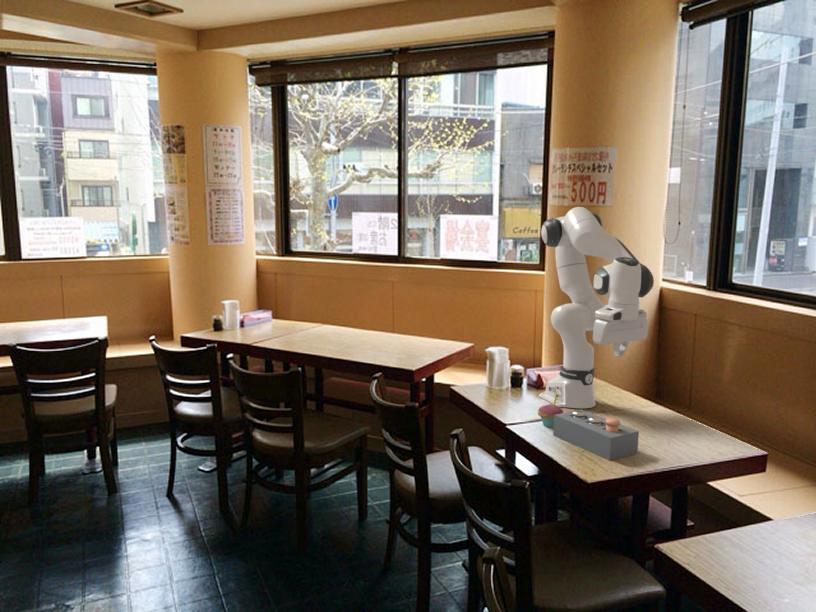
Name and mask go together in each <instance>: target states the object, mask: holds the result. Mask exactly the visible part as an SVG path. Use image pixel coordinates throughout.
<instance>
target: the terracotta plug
mask: <svg viewBox="0 0 816 612" xmlns="http://www.w3.org/2000/svg"><path fill="white" fill-rule="evenodd" d="M605 419H606V421H605V423H606V430H607V431H609V432H612V433H614V432H618V428H619V425H620V424H621V422H620V420H619V419H617V418H605Z"/></svg>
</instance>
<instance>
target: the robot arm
mask: <svg viewBox="0 0 816 612" xmlns="http://www.w3.org/2000/svg"><path fill="white" fill-rule="evenodd" d="M540 231H541V232H540V233H541V239H542V242H544V244H545V246H547V247H550V248H555V249H554V251H555V252H554V253H555V265H556V273H557V278H558V282H559V287H560V290H561V291H562V292H563V293H564V294H566V295H567V296H568V298H570V300H571V303H564V304H561V305H559V306H557V307H555V308H554V309H553V310H552V312H551V315H550V323H551V325H552V327H553V329H554V330H555V331H556V332H557V333H558V334H559V336H560V339H561V341H562V345H563V346H562V347H563V358H562V360H563V361H562V362H563V364H562V365H561V366H559V367H558V368H557V370H559V374H557V375H556V376H555V377H553V378H552V379H550V380H549V381H547V382H546V385H545V391H542V392H541V393H539V395H538V396H539V397H540V398H541V399H543V400H545V401H546V402H548V403H549V404H551V405H553V404H554V399H555V394H556V393H557V399H556V404H555V405H556V406H558V407H560V408H571V409H589V408H590V409H591V408H594V407H595V406H596V404H597V403H596V397H595V388H594V387H595V386H594V379H595V368H594V360H595V359H594V357H595V348H594V346H593V344H591V343H590V342H588V339H587V334H586V333H587V332H588V331H592V341H593V342H594V344H597V345H601V346H605V345H611V347H612V349H613V356H615V357H618V358H619V357H624V356H625V355H626V350H627V349H628V347H629V345H630V344H629V343H630V342H634V341H636V342H637V341H642V340H646V339H647V337H648V328H649V326H648V325H649V324H648V319H647V312H646V311H645V310H644V309H639V308H640V298H644V297H646V295H648V294H650V292H651V290H652V289H653V287H654V282H655V280H654V276H653V273H652V272H651V270H650V269H649V268H648V267H647V265H644V264H643V263H641V262H640V261H639V260H638V259H637V258H636V256H635V255H634V254H633V253H632V252H631V251H630V250H629V248H628V247H627V246H626V245H625V244H624V243H623V242H622V241H621V240H620V239H618V238H617V237H615V236H613V235H612V234H611V233H609V232H608V231H607V230H606V229H605V228H603V222H602V218H601V217H600V216H599V215H598V214H597V213H594V212H591V211H590V210H589V209H587V208H586V207H583V206H576V207H573V208H571V209H569V211H567V212H566V214H565V215H563V216H559V217H556V218H553V217H552V218H550V219H547V220H545V221H544V222H543V224H542V225H541V230H540ZM586 256H590V257H597V258H602V259H606V260H609V261H611V262H612V263H610V264H607V265H603V266H600V267H598V268H597V269H596V270H595V272H594V273H593V275H592V283H591V279H590V275H589V271H588V264H587V260H586ZM596 293H597V294H598V295H600V296H603V297H609V298H608V303H607V304H605V303H604V302H603V301H602V300H600V298H599V297H598V296H597V294H596ZM557 391H558V392H557Z"/></svg>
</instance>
